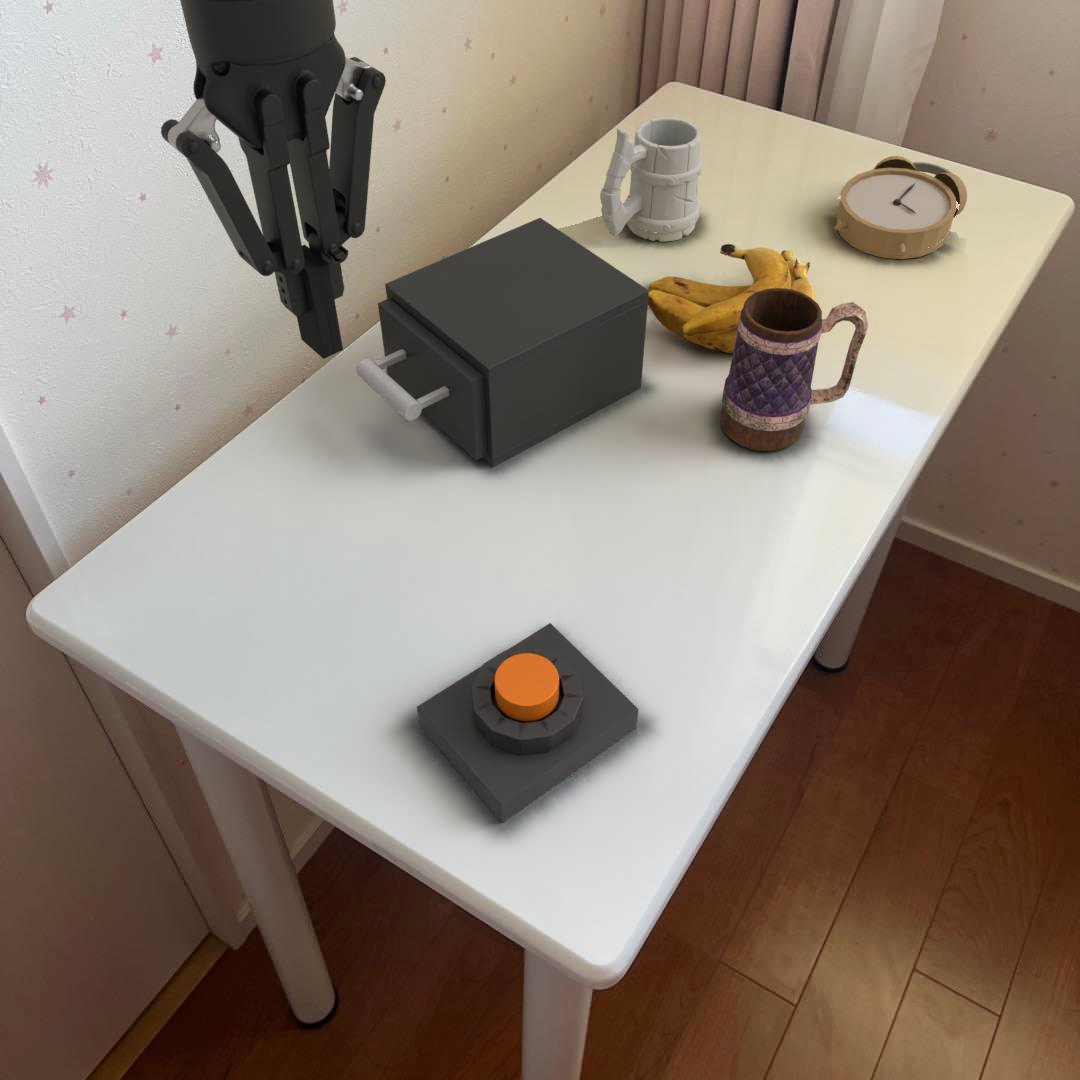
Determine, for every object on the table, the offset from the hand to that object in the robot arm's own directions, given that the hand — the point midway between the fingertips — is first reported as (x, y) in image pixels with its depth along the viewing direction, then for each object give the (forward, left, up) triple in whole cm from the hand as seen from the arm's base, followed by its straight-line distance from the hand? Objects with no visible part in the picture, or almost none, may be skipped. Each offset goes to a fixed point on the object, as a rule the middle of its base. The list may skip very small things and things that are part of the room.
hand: (322, 344), depth 72 cm
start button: (+14, -18, -14) cm, 26 cm away
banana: (+31, +28, -17) cm, 45 cm away
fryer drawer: (+9, +15, -16) cm, 23 cm away
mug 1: (+24, +42, -17) cm, 51 cm away
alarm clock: (+50, +44, -17) cm, 69 cm away
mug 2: (+34, +12, -17) cm, 40 cm away
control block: (+14, -18, -17) cm, 28 cm away
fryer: (+12, +17, -17) cm, 27 cm away
